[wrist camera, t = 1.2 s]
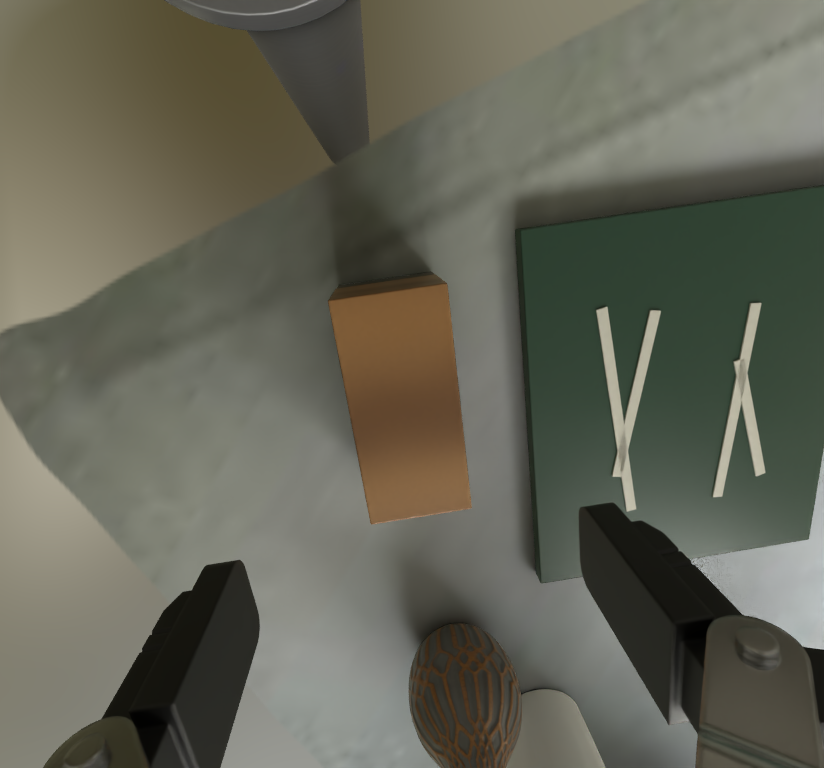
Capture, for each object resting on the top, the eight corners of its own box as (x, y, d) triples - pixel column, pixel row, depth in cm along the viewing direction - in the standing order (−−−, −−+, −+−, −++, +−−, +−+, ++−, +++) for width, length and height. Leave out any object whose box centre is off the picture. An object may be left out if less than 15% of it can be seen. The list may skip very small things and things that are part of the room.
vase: (523, 630, 33) (573, 766, 25) (466, 695, 34) (494, 844, 26) (442, 590, 31) (466, 720, 23) (386, 660, 33) (390, 806, 24)
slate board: (514, 229, 24) (520, 229, 23) (849, 181, 25) (870, 178, 24) (535, 573, 31) (541, 585, 30) (796, 530, 32) (810, 540, 31)
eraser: (337, 284, 25) (327, 300, 19) (432, 271, 25) (447, 282, 20) (371, 470, 28) (370, 525, 23) (454, 457, 28) (472, 509, 23)
